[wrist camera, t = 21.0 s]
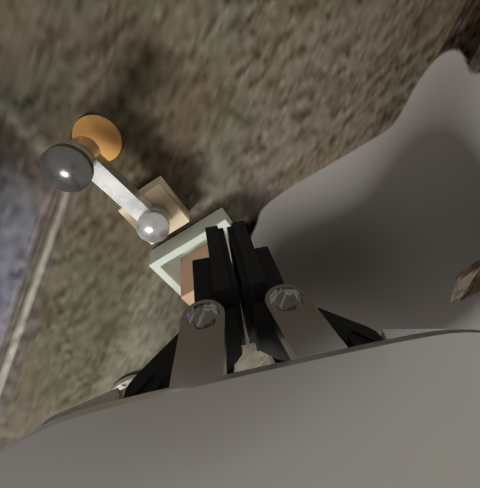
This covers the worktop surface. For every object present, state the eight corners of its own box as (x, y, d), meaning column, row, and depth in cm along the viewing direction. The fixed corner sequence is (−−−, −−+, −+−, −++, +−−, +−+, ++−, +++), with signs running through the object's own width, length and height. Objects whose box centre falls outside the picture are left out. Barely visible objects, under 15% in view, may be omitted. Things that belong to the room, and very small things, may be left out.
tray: (255, 255, 45) (261, 269, 42) (191, 291, 46) (192, 307, 44) (222, 207, 39) (225, 219, 36) (150, 250, 41) (148, 265, 38)
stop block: (230, 256, 43) (239, 293, 36) (196, 275, 44) (199, 315, 37) (215, 237, 40) (222, 273, 34) (180, 258, 41) (180, 297, 35)
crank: (177, 217, 35) (177, 243, 31) (153, 235, 36) (149, 264, 31) (81, 122, 28) (60, 136, 23) (54, 147, 29) (28, 166, 24)
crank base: (189, 211, 39) (189, 221, 36) (153, 233, 39) (151, 244, 37) (102, 102, 30) (95, 106, 28) (58, 134, 31) (49, 140, 29)
